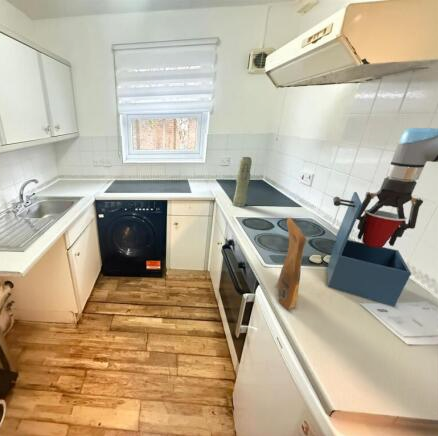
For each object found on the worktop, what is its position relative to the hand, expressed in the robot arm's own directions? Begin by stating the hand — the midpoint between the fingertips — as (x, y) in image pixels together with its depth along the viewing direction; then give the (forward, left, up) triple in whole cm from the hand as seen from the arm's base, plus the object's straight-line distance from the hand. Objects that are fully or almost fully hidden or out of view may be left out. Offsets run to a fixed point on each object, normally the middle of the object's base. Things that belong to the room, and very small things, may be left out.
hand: (374, 240), depth 85 cm
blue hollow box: (0, 0, -19) cm, 19 cm away
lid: (+9, 0, +5) cm, 10 cm away
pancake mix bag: (+23, +23, -19) cm, 38 cm away
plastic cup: (0, 0, -1) cm, 1 cm away
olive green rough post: (+63, -68, -19) cm, 95 cm away
